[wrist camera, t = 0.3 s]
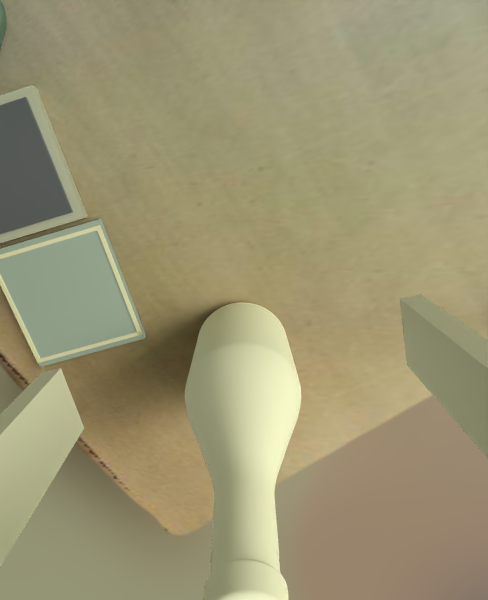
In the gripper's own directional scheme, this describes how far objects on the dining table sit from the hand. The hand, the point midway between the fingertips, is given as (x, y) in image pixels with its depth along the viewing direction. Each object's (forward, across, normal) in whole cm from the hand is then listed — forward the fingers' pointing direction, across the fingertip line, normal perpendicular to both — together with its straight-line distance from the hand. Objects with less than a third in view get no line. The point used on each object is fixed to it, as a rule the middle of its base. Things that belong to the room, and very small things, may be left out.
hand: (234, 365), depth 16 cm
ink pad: (+27, -20, +11) cm, 36 cm away
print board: (+27, -18, -2) cm, 33 cm away
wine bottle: (+27, -2, -10) cm, 29 cm away
